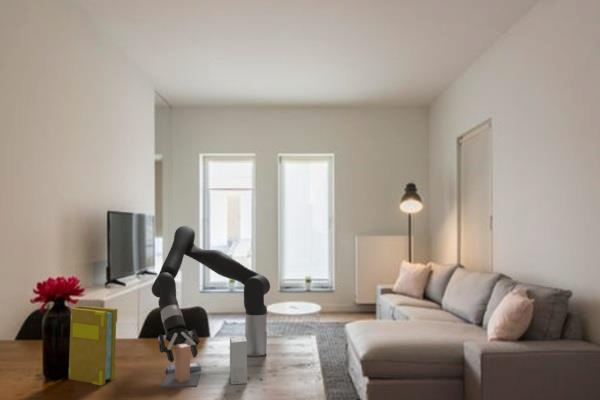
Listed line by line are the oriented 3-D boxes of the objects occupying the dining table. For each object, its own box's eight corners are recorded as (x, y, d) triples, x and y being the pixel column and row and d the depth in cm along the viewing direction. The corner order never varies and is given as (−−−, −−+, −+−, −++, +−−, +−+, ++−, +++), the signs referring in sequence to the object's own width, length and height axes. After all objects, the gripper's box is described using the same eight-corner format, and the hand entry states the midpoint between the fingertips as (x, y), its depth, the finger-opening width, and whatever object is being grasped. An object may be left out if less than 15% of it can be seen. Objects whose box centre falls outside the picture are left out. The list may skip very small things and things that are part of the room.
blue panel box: (198, 365, 170) (198, 361, 170) (200, 370, 165) (200, 366, 165) (167, 369, 165) (167, 365, 165) (168, 374, 161) (168, 369, 161)
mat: (200, 373, 161) (200, 372, 161) (197, 386, 149) (197, 385, 149) (167, 374, 160) (167, 373, 160) (161, 387, 148) (161, 386, 148)
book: (115, 378, 155) (117, 308, 156) (101, 385, 149) (103, 312, 150) (78, 372, 161) (81, 305, 162) (63, 378, 155) (66, 308, 156)
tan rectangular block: (183, 376, 158) (184, 342, 158) (189, 380, 154) (190, 345, 154) (174, 378, 156) (175, 344, 156) (180, 382, 152) (181, 347, 152)
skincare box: (247, 384, 152) (248, 341, 153) (230, 385, 151) (231, 342, 152) (245, 375, 160) (245, 335, 161) (228, 376, 159) (229, 335, 160)
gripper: (187, 323, 170) (199, 360, 160) (151, 328, 161) (161, 368, 152) (193, 311, 166) (205, 349, 156) (156, 316, 157) (167, 356, 148)
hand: (183, 358), depth 154 cm, fingers open, 8 cm apart
